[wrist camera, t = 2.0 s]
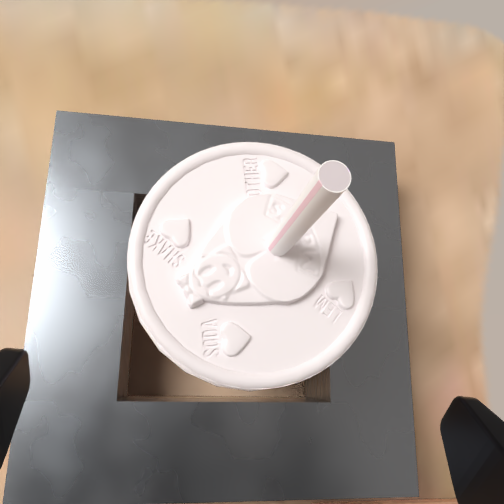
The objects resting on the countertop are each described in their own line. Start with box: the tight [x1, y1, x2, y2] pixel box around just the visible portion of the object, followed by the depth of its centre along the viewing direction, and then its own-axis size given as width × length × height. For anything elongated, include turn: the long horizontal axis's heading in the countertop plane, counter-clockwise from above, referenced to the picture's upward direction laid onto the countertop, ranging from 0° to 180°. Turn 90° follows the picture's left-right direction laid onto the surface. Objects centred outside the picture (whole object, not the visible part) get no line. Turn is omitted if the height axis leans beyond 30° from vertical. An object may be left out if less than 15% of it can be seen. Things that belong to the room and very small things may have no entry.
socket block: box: [3, 111, 419, 504], centre depth 19 cm, size 14×14×4 cm
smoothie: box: [127, 142, 378, 391], centre depth 14 cm, size 6×6×14 cm
